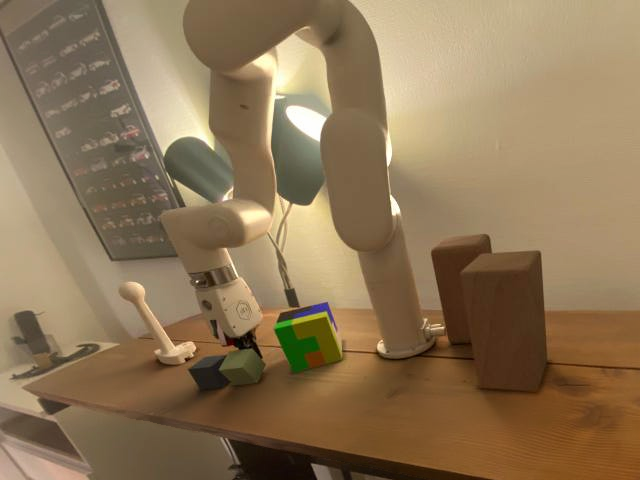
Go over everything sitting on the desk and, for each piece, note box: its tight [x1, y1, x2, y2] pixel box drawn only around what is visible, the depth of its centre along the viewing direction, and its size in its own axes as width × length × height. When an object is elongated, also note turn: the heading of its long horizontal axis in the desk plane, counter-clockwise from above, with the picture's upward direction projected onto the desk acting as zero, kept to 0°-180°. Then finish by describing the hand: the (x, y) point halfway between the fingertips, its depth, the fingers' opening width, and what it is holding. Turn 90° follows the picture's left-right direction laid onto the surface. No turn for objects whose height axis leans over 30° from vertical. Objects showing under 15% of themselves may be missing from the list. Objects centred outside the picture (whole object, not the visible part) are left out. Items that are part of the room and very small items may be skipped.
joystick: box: [118, 281, 197, 366], centre depth 90 cm, size 11×8×20 cm
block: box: [430, 233, 493, 345], centre depth 76 cm, size 10×10×20 cm
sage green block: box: [219, 349, 267, 386], centre depth 76 cm, size 5×5×5 cm
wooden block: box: [460, 249, 549, 393], centre depth 60 cm, size 10×10×20 cm
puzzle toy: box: [273, 301, 343, 374], centre depth 80 cm, size 10×10×10 cm
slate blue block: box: [187, 354, 230, 391], centre depth 77 cm, size 5×5×5 cm
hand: (254, 360), depth 80 cm, fingers closed
